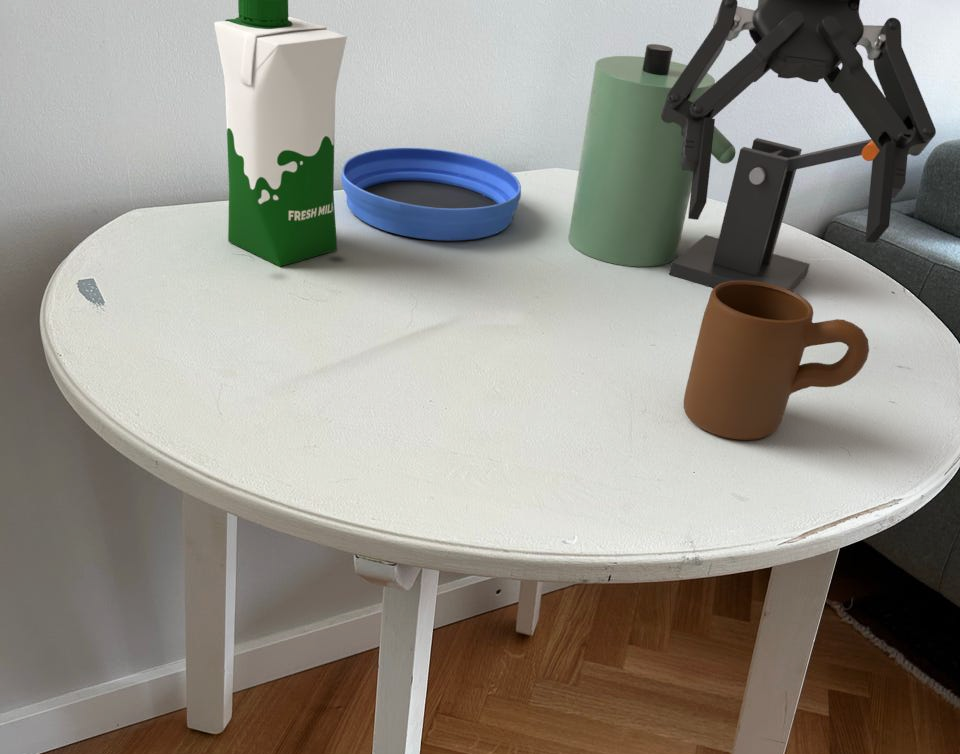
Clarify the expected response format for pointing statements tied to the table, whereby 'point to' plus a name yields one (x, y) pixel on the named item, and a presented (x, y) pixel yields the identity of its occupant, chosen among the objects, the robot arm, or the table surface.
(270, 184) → the milk carton
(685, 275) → the dark grey stand
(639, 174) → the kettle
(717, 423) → the mug
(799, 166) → the switch
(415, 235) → the bowl
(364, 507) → the table surface
